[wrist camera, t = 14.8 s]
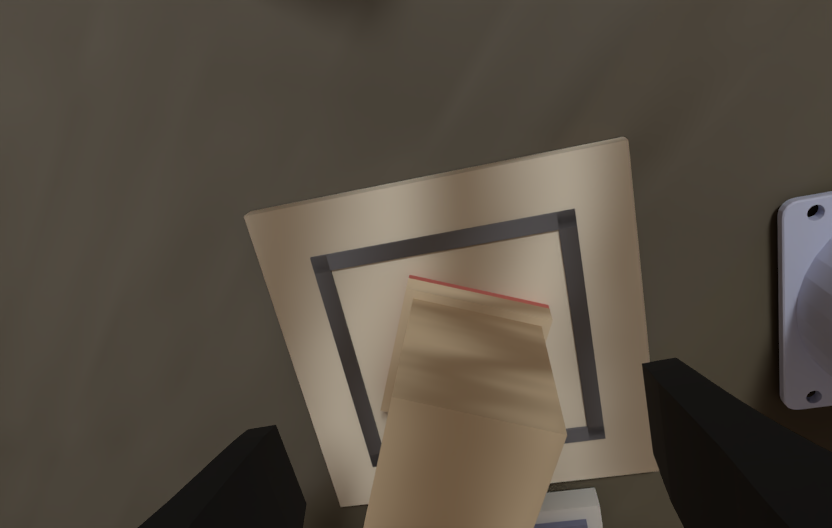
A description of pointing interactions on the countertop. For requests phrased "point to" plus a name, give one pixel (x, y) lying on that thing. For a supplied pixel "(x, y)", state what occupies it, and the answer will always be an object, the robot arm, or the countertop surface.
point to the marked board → (474, 268)
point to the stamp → (467, 412)
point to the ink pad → (570, 510)
